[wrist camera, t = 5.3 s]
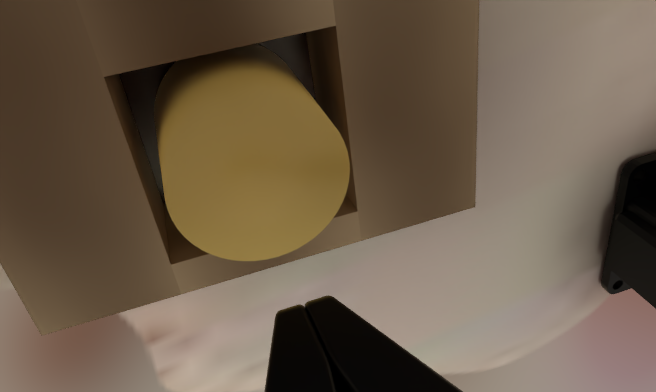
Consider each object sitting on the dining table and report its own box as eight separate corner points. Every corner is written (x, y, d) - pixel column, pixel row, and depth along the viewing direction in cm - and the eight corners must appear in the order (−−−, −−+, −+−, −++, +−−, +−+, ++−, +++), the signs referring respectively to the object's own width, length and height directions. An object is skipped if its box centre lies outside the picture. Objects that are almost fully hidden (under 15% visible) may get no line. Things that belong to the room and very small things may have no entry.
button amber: (290, 24, 15) (338, 74, 12) (312, 159, 17) (357, 233, 14) (133, 59, 14) (137, 122, 11) (177, 194, 16) (192, 281, 13)
